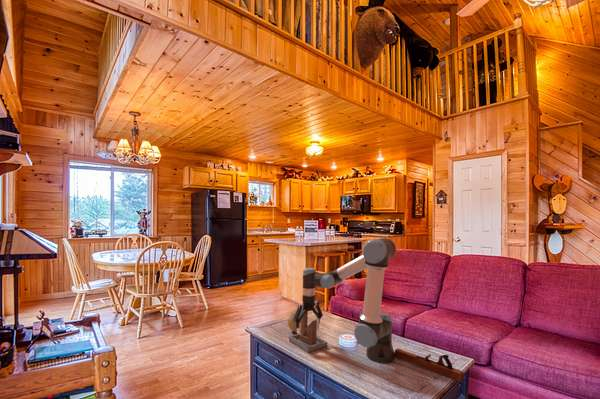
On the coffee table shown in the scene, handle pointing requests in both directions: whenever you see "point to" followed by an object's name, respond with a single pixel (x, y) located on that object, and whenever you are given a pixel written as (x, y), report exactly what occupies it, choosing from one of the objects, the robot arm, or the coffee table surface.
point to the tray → (306, 347)
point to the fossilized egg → (290, 320)
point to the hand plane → (431, 364)
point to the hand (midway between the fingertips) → (308, 331)
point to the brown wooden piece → (311, 329)
